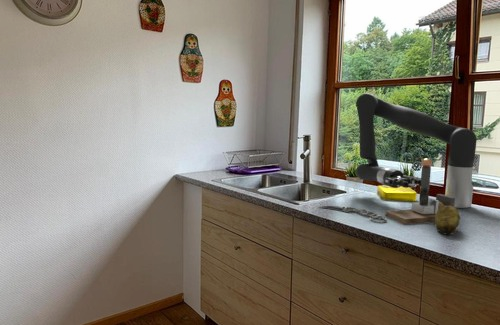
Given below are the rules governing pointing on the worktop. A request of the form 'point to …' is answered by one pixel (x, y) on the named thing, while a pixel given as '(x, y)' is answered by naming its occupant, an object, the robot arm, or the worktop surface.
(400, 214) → the base
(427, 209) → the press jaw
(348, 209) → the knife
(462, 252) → the worktop surface
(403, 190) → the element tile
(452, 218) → the potato
